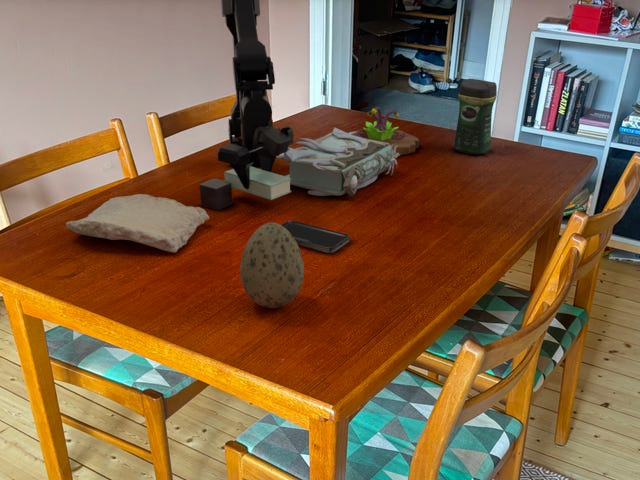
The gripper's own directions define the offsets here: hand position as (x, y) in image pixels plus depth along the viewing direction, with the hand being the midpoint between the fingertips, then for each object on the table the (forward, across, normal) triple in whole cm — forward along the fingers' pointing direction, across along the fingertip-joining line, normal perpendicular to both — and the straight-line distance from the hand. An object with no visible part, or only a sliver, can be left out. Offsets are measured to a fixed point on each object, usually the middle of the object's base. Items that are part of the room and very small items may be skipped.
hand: (256, 184), depth 167 cm
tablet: (+4, -29, +8) cm, 30 cm away
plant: (+4, +51, -1) cm, 51 cm away
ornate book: (+4, +24, -6) cm, 25 cm away
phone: (+4, -10, -22) cm, 25 cm away
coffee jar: (+4, +64, -23) cm, 68 cm away
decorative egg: (+4, -36, -33) cm, 49 cm away
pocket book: (+1, 0, 0) cm, 1 cm away
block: (+4, -7, +6) cm, 10 cm away
